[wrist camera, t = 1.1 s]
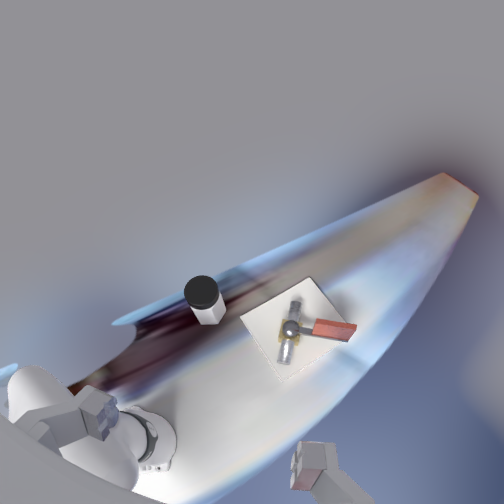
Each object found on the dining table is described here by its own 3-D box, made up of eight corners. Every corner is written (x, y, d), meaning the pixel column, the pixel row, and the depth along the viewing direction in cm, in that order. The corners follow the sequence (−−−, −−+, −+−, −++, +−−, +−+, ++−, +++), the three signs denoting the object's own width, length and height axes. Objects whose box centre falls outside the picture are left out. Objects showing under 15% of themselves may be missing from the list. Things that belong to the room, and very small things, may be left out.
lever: (280, 335, 66) (281, 323, 59) (284, 320, 68) (285, 306, 61) (346, 347, 63) (355, 335, 56) (348, 331, 65) (357, 318, 58)
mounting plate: (281, 381, 64) (282, 381, 63) (240, 318, 74) (240, 316, 73) (353, 334, 69) (354, 332, 68) (309, 279, 80) (309, 277, 79)
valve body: (293, 366, 65) (294, 363, 62) (272, 362, 66) (272, 359, 63) (305, 308, 73) (306, 302, 71) (286, 305, 74) (287, 299, 72)
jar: (226, 296, 78) (219, 273, 68) (226, 324, 73) (219, 304, 64) (194, 298, 78) (183, 275, 69) (192, 325, 74) (180, 306, 64)
